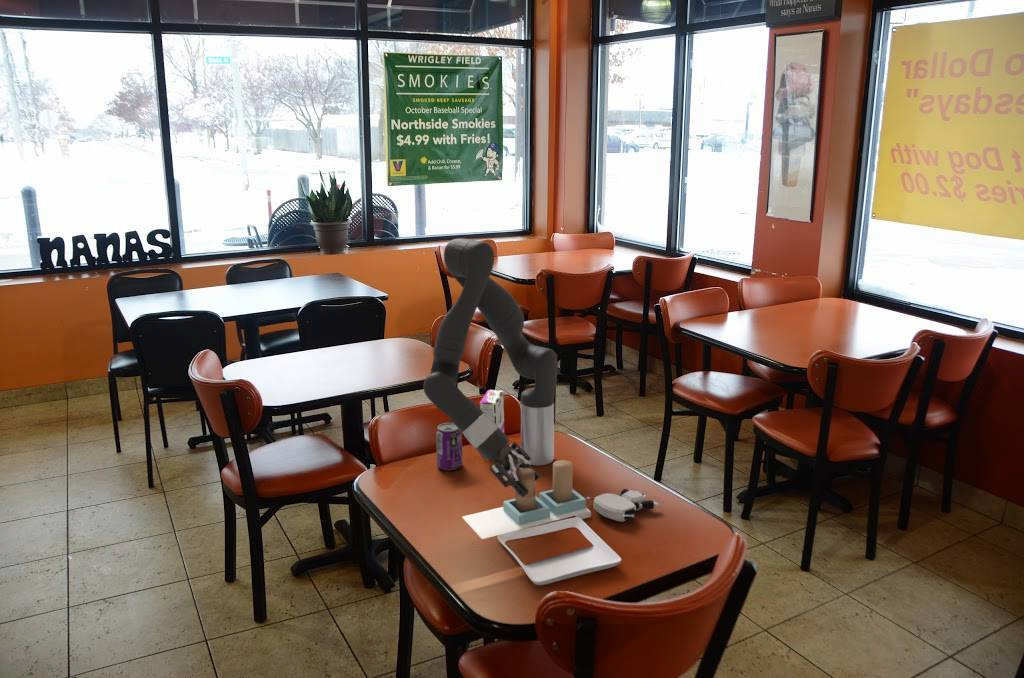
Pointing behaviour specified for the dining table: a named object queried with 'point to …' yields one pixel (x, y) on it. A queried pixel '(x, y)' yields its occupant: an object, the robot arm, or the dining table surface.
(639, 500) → the robot toy
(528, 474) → the walnut column
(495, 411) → the candy bar box
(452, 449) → the beverage can
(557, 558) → the salad plate
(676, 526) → the dining table surface
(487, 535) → the base board
